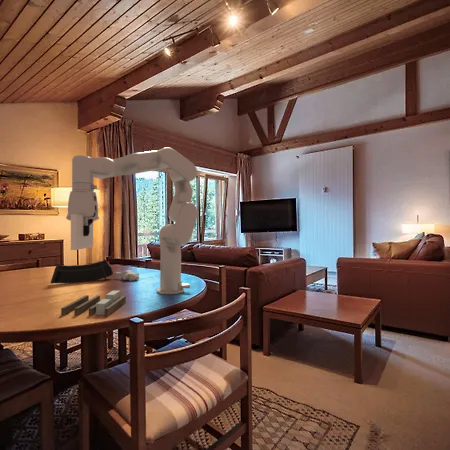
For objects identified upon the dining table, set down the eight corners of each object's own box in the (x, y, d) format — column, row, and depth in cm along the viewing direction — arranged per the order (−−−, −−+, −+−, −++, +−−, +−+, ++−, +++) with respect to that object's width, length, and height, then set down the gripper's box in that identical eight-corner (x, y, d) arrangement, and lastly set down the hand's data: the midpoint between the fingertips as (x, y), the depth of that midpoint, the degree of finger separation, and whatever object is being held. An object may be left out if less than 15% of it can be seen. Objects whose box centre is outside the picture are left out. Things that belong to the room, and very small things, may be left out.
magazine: (46, 268, 147) (105, 247, 166) (44, 267, 150) (103, 247, 169) (57, 300, 151) (114, 276, 170) (55, 298, 153) (112, 275, 172)
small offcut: (110, 309, 111) (111, 299, 111) (104, 315, 105) (104, 303, 105) (102, 309, 111) (102, 299, 111) (96, 315, 105) (96, 303, 105)
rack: (125, 302, 121) (125, 295, 121) (108, 316, 103) (108, 308, 103) (85, 301, 122) (85, 295, 121) (61, 315, 103) (61, 308, 103)
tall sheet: (93, 246, 123) (93, 215, 123) (76, 250, 109) (76, 214, 109) (88, 246, 123) (88, 214, 123) (70, 249, 109) (70, 214, 109)
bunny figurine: (129, 275, 160) (113, 268, 169) (128, 284, 160) (112, 277, 169) (143, 272, 167) (127, 267, 176) (142, 281, 168) (126, 275, 177)
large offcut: (120, 303, 120) (120, 290, 120) (113, 307, 113) (113, 294, 113) (112, 302, 120) (112, 290, 120) (105, 307, 113) (105, 294, 113)
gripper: (107, 189, 120) (106, 235, 120) (67, 189, 120) (67, 235, 120) (99, 187, 112) (98, 236, 112) (57, 187, 112) (56, 236, 113)
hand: (82, 235), depth 116 cm, fingers closed on tall sheet, 2 cm apart
